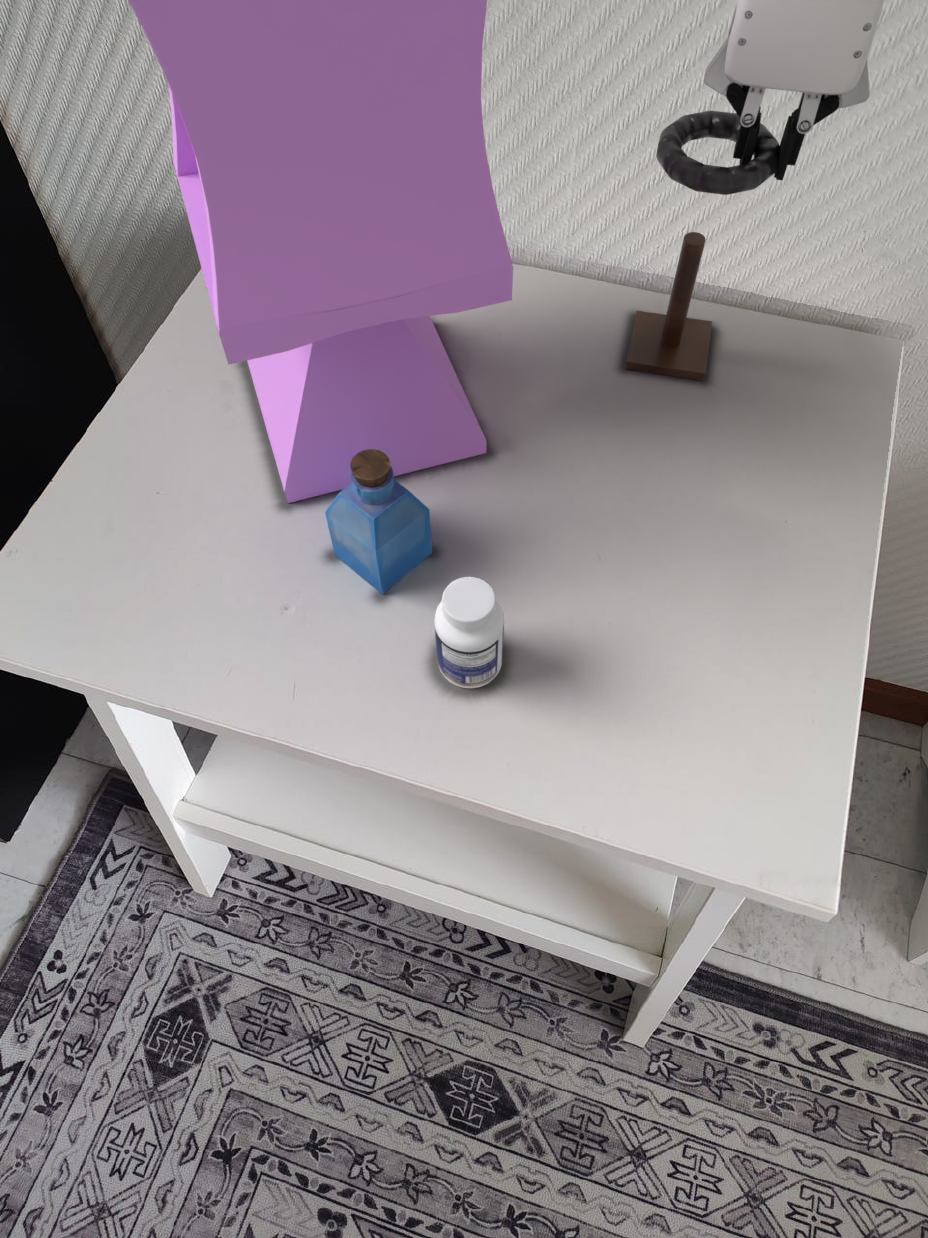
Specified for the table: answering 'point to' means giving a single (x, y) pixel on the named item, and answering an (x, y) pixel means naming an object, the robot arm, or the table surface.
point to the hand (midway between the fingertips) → (761, 166)
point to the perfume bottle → (378, 523)
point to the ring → (709, 175)
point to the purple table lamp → (338, 214)
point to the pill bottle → (469, 633)
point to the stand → (674, 325)
